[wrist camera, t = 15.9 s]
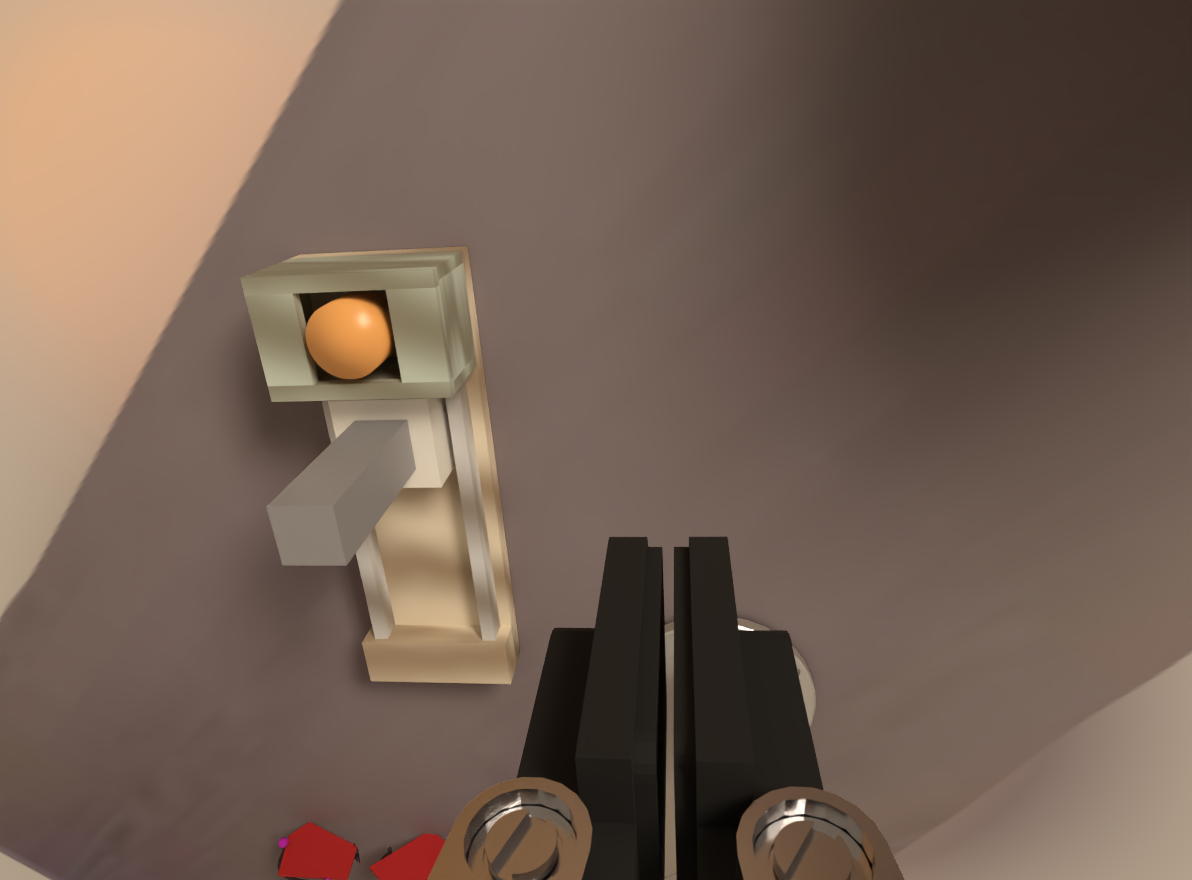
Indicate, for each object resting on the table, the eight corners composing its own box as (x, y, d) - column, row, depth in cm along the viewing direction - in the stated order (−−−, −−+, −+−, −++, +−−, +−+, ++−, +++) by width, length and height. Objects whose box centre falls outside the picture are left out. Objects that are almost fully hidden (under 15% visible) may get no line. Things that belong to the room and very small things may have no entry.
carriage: (454, 465, 41) (379, 588, 31) (365, 467, 42) (261, 587, 31) (441, 381, 39) (356, 481, 29) (348, 383, 40) (231, 482, 29)
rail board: (519, 651, 48) (500, 720, 43) (387, 649, 49) (351, 716, 44) (467, 246, 38) (432, 269, 32) (300, 254, 39) (240, 277, 34)
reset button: (410, 358, 37) (388, 378, 34) (341, 360, 37) (314, 380, 35) (397, 286, 36) (374, 301, 33) (326, 289, 36) (297, 304, 33)
